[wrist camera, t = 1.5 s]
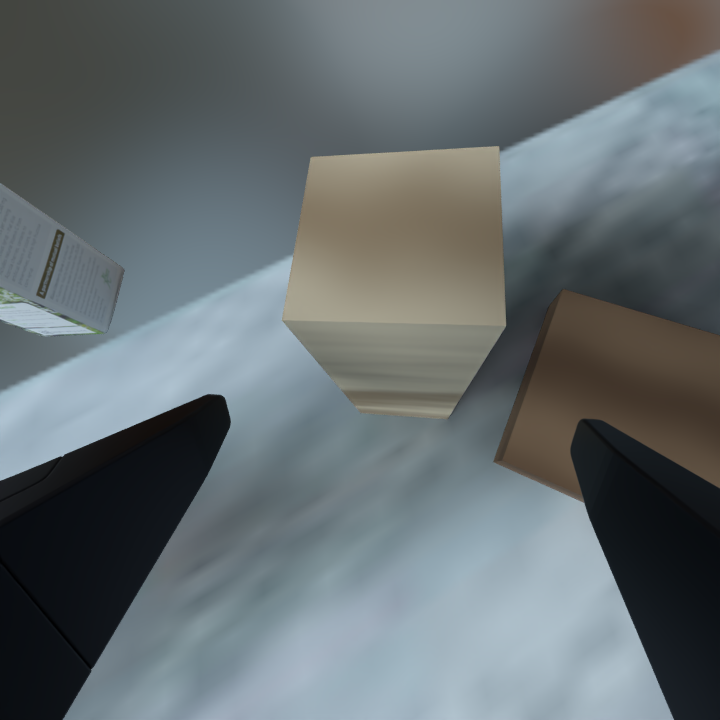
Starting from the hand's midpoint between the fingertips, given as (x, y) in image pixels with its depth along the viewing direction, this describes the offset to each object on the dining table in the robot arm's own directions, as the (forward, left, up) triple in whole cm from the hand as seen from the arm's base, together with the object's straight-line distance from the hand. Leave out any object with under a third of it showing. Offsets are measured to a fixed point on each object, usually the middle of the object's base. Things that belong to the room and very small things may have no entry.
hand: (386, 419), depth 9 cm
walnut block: (-3, -11, -12) cm, 17 cm away
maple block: (+4, -2, -11) cm, 12 cm away
